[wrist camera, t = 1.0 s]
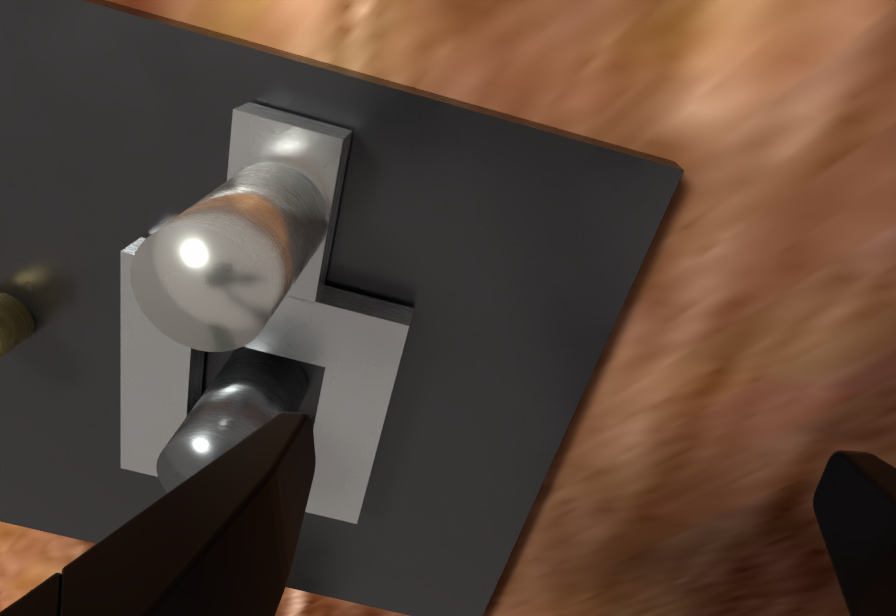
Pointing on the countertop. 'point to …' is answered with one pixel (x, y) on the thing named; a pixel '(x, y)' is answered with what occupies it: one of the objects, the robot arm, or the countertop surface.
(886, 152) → the countertop surface
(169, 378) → the metal knob latch
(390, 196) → the post base
